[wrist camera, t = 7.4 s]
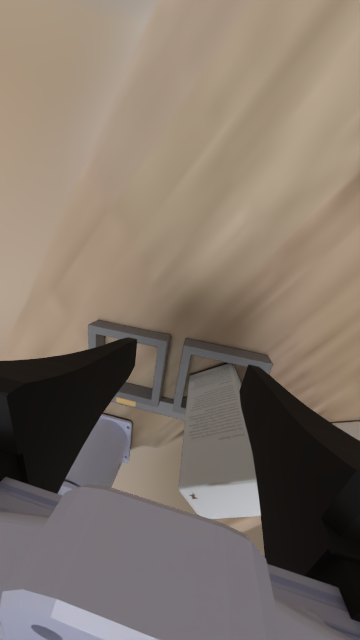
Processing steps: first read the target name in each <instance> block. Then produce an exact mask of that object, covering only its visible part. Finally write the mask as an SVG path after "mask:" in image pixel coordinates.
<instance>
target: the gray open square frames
mask: <svg viewBox="0 0 360 640" xmlns="http://www.w3.org/2000/svg"><path fill="white" fill-rule="evenodd" d="M105 336H108V337H113V338H117V339H123V338H127V337H130V338H134V339H137V343H140V344H145V345H149V346H154V347H158V351H157V359H156V367H155V375H154V383H153V389H150V388H146V387H142V386H138V385H134V384H130V383H126V382H125V383H124V384H123V386H122V387H121V389H120V390H119V391H118V393H117V394H116V395H115V397H114V398H113V399H112V401H111V402H115V403H119V404H122V405H126V406H130V407H134V408H138V409H142V410H146V411H150V412H153V413H157V414H161V415H165V416H169V417H173V418H177V419H180V420H184V421H185V415H186V405H187V397H183V392H184V387H185V382H186V377H187V372H188V367H189V362H190V357H191V355H195V356H200V357H204V358H209V359H214V360H218V361H223V362H227V363H232V364H236V365H241V366H246V367H248V364H249V365H254V366H258V367H260V368H261V369H263V370H264V371H265V372H266V373H267V374H270V371H271V369H272V366H273V363H272V362H271V360H270V359H269V357H268V356H267V355H264V354H259V353H254V352H249V351H245V350H240V349H235V348H230V347H225V346H221V345H216V344H211V343H206V342H202V341H197V340H192V339H187V338H186V340H185V343H184V347H183V353H182V358H181V364H180V370H179V375H178V381H177V386H176V392H175V397H174V400H172V399H168V398H164V397H162V390H163V383H164V377H165V370H166V363H167V356H168V350H169V343H170V336H171V335H168V334H163V333H158V332H154V331H149V330H144V329H139V328H135V327H130V326H125V325H120V324H115V323H111V322H106V321H101V320H97V321H95V322H93V323H91V324H89V325H88V343H89V349H92V348H95V347H99V346H102V345H105Z"/></svg>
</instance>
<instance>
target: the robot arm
mask: <svg viewBox="0 0 360 640" xmlns="http://www.w3.org/2000/svg"><path fill="white" fill-rule="evenodd" d="M136 348H137V339H134V338H130V337H127V338H123V339H120V340H117V341H114V342H111V343H108V344H105V345H102V346H99V347H95V348H92V349H88V350H85V351H81V352H76V353H72V354H67V355H61V356H54V357H47V358H39V359H29V360H15V361H0V640H360V441H359V440H358V439H356V438H354V437H352V436H351V435H349V434H348V433H346V432H344V431H343V430H341V429H340V428H338V427H336V426H335V425H333V424H332V423H330V422H329V421H327V420H326V419H324V418H323V417H321V416H320V415H318V414H317V413H316V412H314V411H313V410H311V409H310V408H308V407H307V406H306V405H304V404H303V403H302V402H301V401H299V400H298V399H297V398H296V397H294V396H293V395H292V394H291V393H289V392H288V391H287V390H286V389H285V388H283V387H282V386H281V385H280V384H279V383H278V382H277V381H275V380H274V379H273V378H272V377H271V376H270V375H269V374H267V373H266V372H265V371H264V370H263V369H261V368H260V367H258V366H254V365H249V364H248V367H247V370H246V373H245V376H244V379H243V382H242V385H241V388H240V391H239V393H240V402H241V409H242V413H243V417H244V421H245V425H246V429H247V433H248V437H249V441H250V445H251V449H252V454H253V460H254V467H255V473H256V480H257V488H258V495H259V503H260V512H261V521H262V529H263V541H264V551H265V557H264V556H263V555H262V553H261V552H260V551H259V550H258V549H257V547H256V546H255V545H254V544H253V543H252V542H251V540H250V539H249V538H248V537H247V536H246V535H245V534H243V533H241V532H239V531H237V530H235V529H233V528H231V527H229V526H227V525H225V524H223V523H221V522H218V521H214V520H211V519H208V518H205V517H202V516H199V515H196V514H192V513H189V512H186V511H183V510H180V509H176V508H174V507H170V506H167V505H164V504H161V503H158V502H155V501H151V500H148V499H145V498H142V497H139V496H136V495H133V494H129V493H126V492H123V491H120V490H117V489H114V488H111V487H112V484H113V482H114V480H115V478H116V475H117V473H118V471H119V468H120V466H121V464H122V462H124V463H128V461H129V456H130V444H131V432H132V422H131V421H128V420H124V419H120V418H116V417H113V416H109V415H105V414H102V413H103V412H104V410H105V409H106V407H107V406H108V405H109V403H110V402H111V401H112V399H113V398H114V397H115V395H116V394H117V393H118V391H119V390H120V389H121V387H122V386H123V384H124V383H125V382H126V380H127V379H128V377H129V376H130V374H131V372H132V370H133V368H134V366H135V358H136Z"/></svg>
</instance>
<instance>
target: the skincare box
mask: <svg viewBox="0 0 360 640" xmlns="http://www.w3.org/2000/svg"><path fill="white" fill-rule="evenodd" d="M241 385H242V383H241V381H240V379H239V377H238V374H237V372H236V370H235V367H234V365H233V364H232V363H228V364H225V365H222V366H219V367H216V368H213V369H209V370H206V371H203V372H200V373H197V374H194V375H190V376H189V385H188V395H187V405H186V415H185V426H184V436H183V446H182V457H181V467H180V477H179V485H178V490H179V491H180V493H181V494H182V495H183V496H184V498H185V499H186V500H187V501H188V503H189V504H190V505H191V507H192V508H193V509H194V510H195V512H196V513H197V514H198V515H199V516H202V517H205V518H208V519H219V518H231V517H250V516H261V512H260V503H259V495H258V488H257V480H256V473H255V467H254V460H253V454H252V449H251V445H250V441H249V437H248V433H247V429H246V425H245V421H244V417H243V413H242V409H241V402H240V393H239V391H240V388H241Z"/></svg>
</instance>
